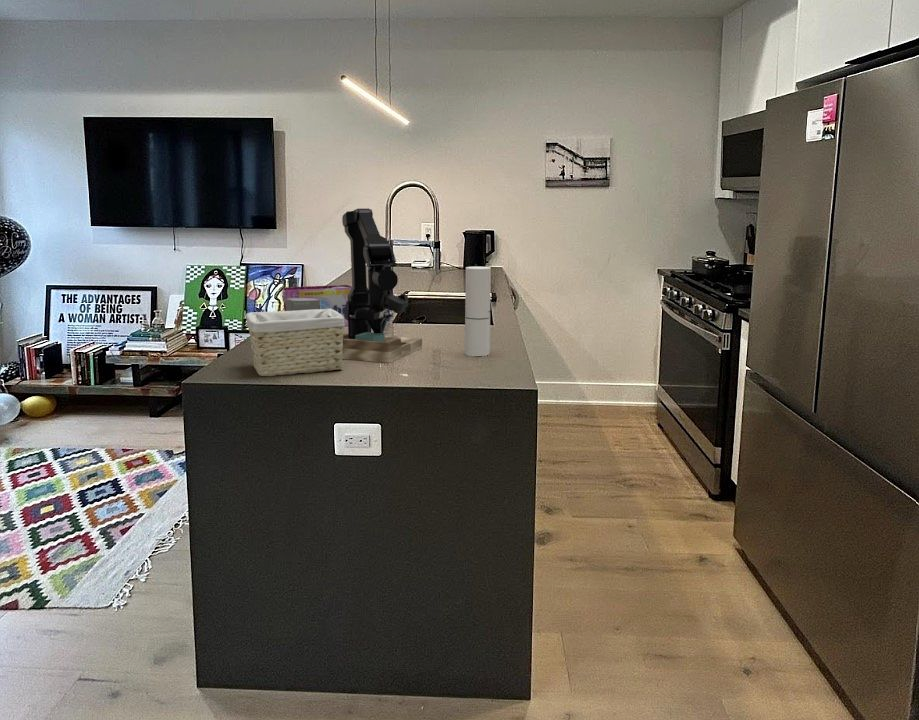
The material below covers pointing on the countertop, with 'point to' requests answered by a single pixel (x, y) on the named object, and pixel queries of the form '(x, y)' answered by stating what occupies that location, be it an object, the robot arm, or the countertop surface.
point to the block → (370, 337)
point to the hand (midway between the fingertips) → (379, 339)
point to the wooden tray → (379, 348)
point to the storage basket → (296, 341)
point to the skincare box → (302, 304)
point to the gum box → (321, 296)
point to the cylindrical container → (477, 311)
